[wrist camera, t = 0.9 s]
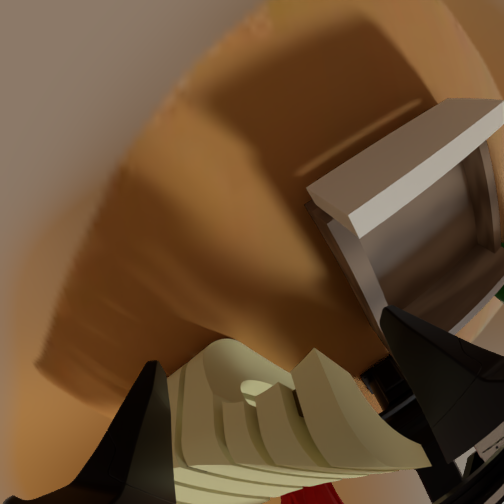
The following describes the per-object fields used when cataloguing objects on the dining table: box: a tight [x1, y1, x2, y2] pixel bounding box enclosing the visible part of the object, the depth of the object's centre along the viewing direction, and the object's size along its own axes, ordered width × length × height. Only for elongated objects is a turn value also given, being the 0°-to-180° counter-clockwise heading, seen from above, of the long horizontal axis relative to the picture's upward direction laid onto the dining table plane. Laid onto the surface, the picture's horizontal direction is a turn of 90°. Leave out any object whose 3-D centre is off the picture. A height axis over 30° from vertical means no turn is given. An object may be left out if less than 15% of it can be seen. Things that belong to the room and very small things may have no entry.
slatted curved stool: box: [167, 339, 432, 504], centre depth 21 cm, size 30×16×18 cm, turn 134°
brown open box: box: [305, 140, 504, 366], centre depth 20 cm, size 17×18×8 cm
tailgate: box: [306, 98, 504, 239], centre depth 15 cm, size 2×17×7 cm, turn 124°
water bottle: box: [281, 482, 344, 504], centre depth 25 cm, size 9×11×25 cm
